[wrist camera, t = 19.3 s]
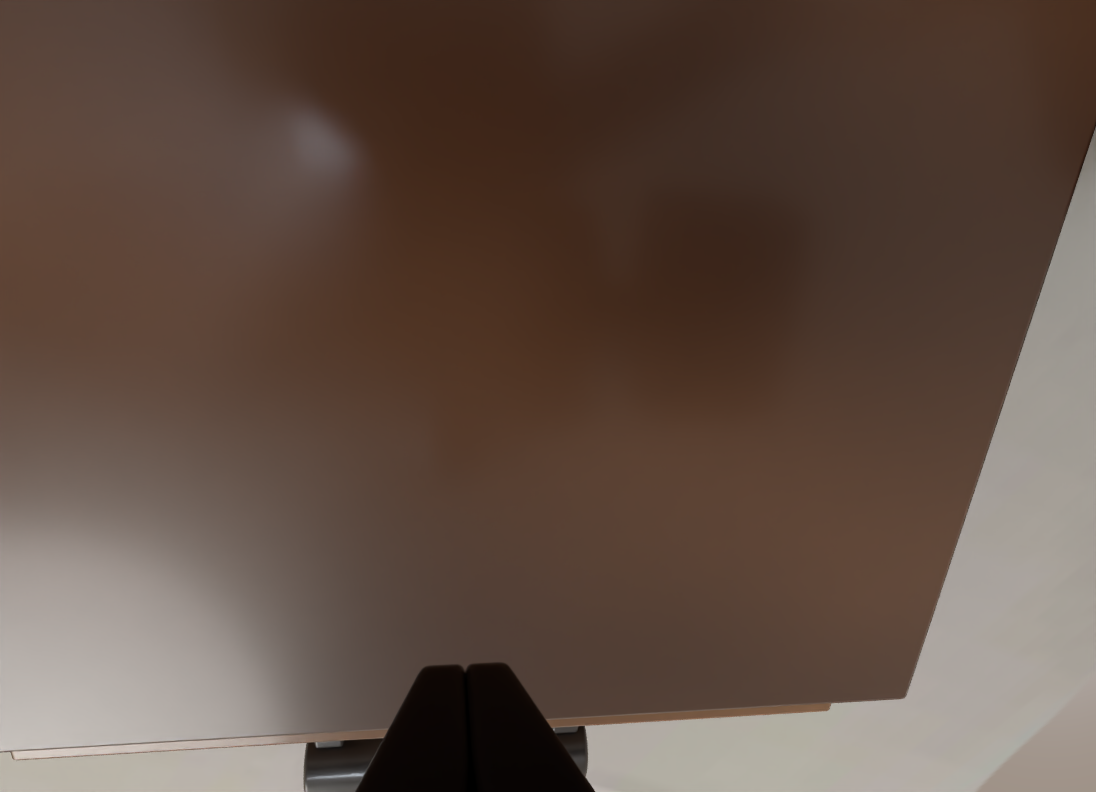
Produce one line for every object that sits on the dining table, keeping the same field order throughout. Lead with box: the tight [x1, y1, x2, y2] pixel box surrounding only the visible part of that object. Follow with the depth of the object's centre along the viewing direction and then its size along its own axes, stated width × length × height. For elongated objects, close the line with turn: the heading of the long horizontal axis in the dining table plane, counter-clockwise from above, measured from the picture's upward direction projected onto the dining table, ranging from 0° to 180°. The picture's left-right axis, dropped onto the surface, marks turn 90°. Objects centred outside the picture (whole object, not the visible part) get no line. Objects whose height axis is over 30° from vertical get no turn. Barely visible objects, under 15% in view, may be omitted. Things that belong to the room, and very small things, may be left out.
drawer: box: [11, 703, 831, 792], centre depth 13 cm, size 21×14×7 cm, turn 176°
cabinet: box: [0, 0, 1096, 752], centre depth 12 cm, size 18×15×9 cm
